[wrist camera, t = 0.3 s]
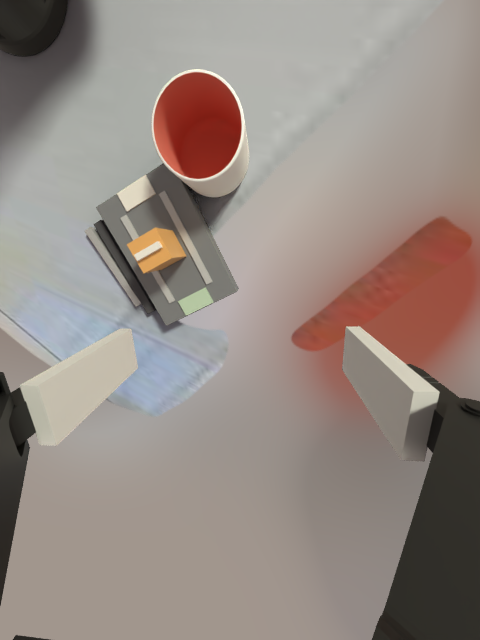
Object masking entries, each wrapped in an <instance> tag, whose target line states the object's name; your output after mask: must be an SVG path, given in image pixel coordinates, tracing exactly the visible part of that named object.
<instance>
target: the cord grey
mask: <svg viewBox="0 0 480 640" xmlns="http://www.w3.org/2000/svg"><path fill="white" fill-rule="evenodd" d="M85 233H86V234H87V235H88V237H89V238H90V240H91V241H92V243H93V244H94V246H95V247H96V249H97V250H98V252H99V253H100V255H101V256H102V258H103V259H104V261H105V262H106V264H107V265H108V266H109V268H110V269H111V271H112V272H113V274H114V275H115V277H116V278H117V280H118V281H119V283H120V284H121V286H122V287H123V289H124V290H125V292H126V293H127V294H128V296H129V297H130V299H131V300H132V302H133V303H134V305H135V306H138V305H140V304H141V302H140V300H139V299H138V297H137V295H136V294H135V292H134V290H133V289H132V287H131V285H130V284H129V282H128V281H127V279H126V277H125V276H124V274H123V272H122V271H121V269H120V267H119V266H118V264H117V262H116V261H115V259H114V257H113V256H112V254H111V252H110V251H109V249H108V248H107V246H106V244H105V243H104V241H103V240H102V238H101V237H100V235H99V234H98V232H97V231H96V229H95V228H93V227H90V228H88V229H87V230H86V231H85Z"/></svg>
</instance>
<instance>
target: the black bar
mask: <svg viewBox="0 0 480 640" xmlns="http://www.w3.org/2000/svg"><path fill="white" fill-rule="evenodd" d="M94 226H95V228H96V229H97V231H98V233H99V234H100V236H101V238H102V239H103V241H104V243H105V244H106V246H107V248H108V249H109V251H110V252H111V254H112V256H113V257H114V259H115V261H116V262H117V264H118V266H119V267H120V269H121V271H122V272H123V274H124V276H125V277H126V279H127V281H128V282H129V284H130V285H131V287H132V289H133V290H134V292H135V294H136V295H137V297H138V299H139V300H140V302H141V304H142V305H143V307H144V309H145V310H146V312H147V314H149V313H151V312H153V311H155V310H156V308H155V306H154V304H153V303H152V301H151V299H150V298H149V296H148V294H147V292H146V291H145V289H144V287H143V286H142V284H141V282H140V281H139V279H138V277H137V276H136V274H135V272H134V271H133V269H132V267H131V266H130V264H129V262H128V261H127V259H126V257H125V255H124V254H123V252H122V250H121V249H120V247H119V245H118V244H117V242H116V240H115V239H114V237H113V235H112V234H111V232H110V230H109V229H108V227H107V225H106V223H105V222H104V221H103V220H100V221H98V222H97V223H95V224H94Z"/></svg>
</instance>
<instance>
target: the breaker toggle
mask: <svg viewBox="0 0 480 640" xmlns="http://www.w3.org/2000/svg"><path fill="white" fill-rule="evenodd" d="M127 246H128V248H129V250H130V251H131V253H132V255H133V256H134V258H135V260H136V261H137V263H138V265H139V267H140V268H141V270H142V272H143V273H149V272H153V271H158V270H162V269H164V268H166V267H168V266H170V265H171V264H173V263H175V262H177V261H179V260H181V259H182V258H184V257H186V254H185V252H184V250H183V248H182V247H181V245H180V243H179V241H178V239H177V237H176V235H175V233H174V232H173V231H172V230H167V229H161V228H156V227H155V228H154V229H152V230H150V231H148V232H147V233H145V234H143V235H142V236H140V237H138V238H137V239H135V240H133V241H132V242H130V243H128V244H127Z"/></svg>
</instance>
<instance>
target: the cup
mask: <svg viewBox="0 0 480 640" xmlns="http://www.w3.org/2000/svg"><path fill="white" fill-rule="evenodd" d="M151 129H152V137H153V142H154V145H155V148H156V151H157V153H158V155H159V157H160V159H161V160H162V162H163V163H164V165H165V166H166V167H167V168H168V169H169V170H170V171H171V172H172V173H174V174H175V175H176V176H177V177H178V178H180V179H181V180H182V181H183V182H184V183H186V184H187V185H188V186H189V187H191V188H192V189H193V190H194V191H196V192H197V193H199V194H201V195H203V196H207V197H221V196H224V195H227V194H229V193H230V192H232V191H233V190H235V189H236V188H237V187H238V186H239V184H240V183H241V182H242V180H243V179H244V177H245V174H246V172H247V168H248V164H249V147H248V141H247V134H246V127H245V120H244V114H243V110H242V106H241V103H240V101H239V98H238V97H237V95H236V93H235V91H234V90H233V89H232V87H231V86H230V85H229V84H228V83H227V82H226V81H225V80H224V79H223V78H221V77H220V76H218V75H217V74H215V73H213V72H210V71H206V70H201V69H194V70H188V71H185V72H182V73H180V74H178V75H176V76H175V77H173V78H172V79H171V80H170V81H169V82H168V83H167V84H166V85H165V86H164V87H163V88H162V90H161V92H160V93H159V95H158V97H157V99H156V102H155V105H154V108H153V113H152V121H151Z"/></svg>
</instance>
